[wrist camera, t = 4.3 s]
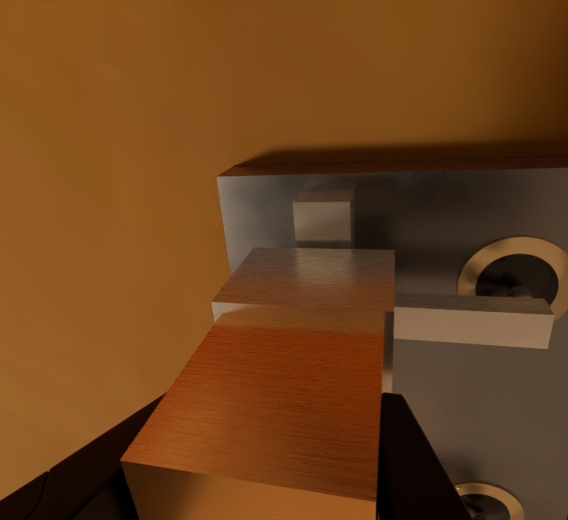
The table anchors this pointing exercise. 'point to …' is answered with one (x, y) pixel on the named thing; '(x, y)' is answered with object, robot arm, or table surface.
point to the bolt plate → (448, 281)
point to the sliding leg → (300, 387)
